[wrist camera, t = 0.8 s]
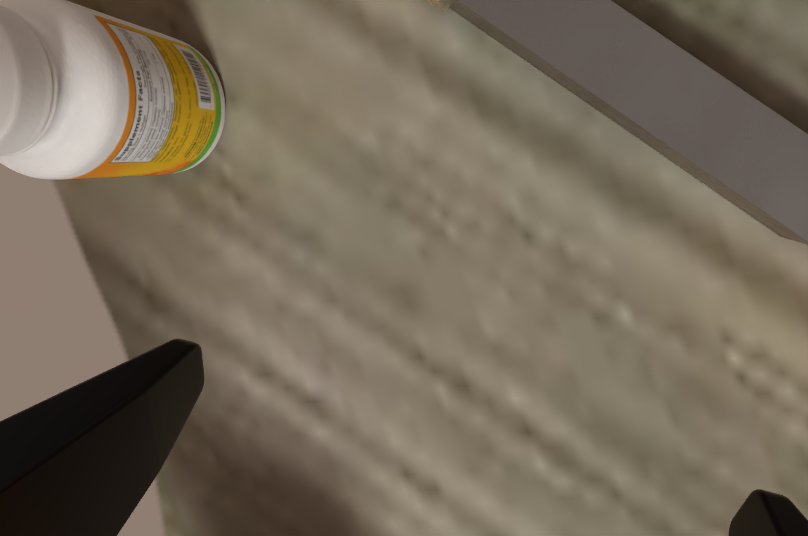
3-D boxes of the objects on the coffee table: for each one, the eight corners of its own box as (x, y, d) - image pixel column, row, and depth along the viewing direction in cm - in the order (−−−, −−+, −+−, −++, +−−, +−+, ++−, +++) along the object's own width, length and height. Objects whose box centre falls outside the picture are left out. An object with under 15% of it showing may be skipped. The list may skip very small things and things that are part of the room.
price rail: (774, 243, 21) (808, 254, 18) (298, -86, 22) (272, -116, 19) (832, 177, 20) (876, 180, 18) (338, -160, 21) (316, -201, 19)
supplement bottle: (92, 135, 25) (-162, 123, 16) (136, 14, 24) (-113, -80, 14) (199, 196, 25) (5, 221, 15) (250, 76, 23) (71, 22, 14)
